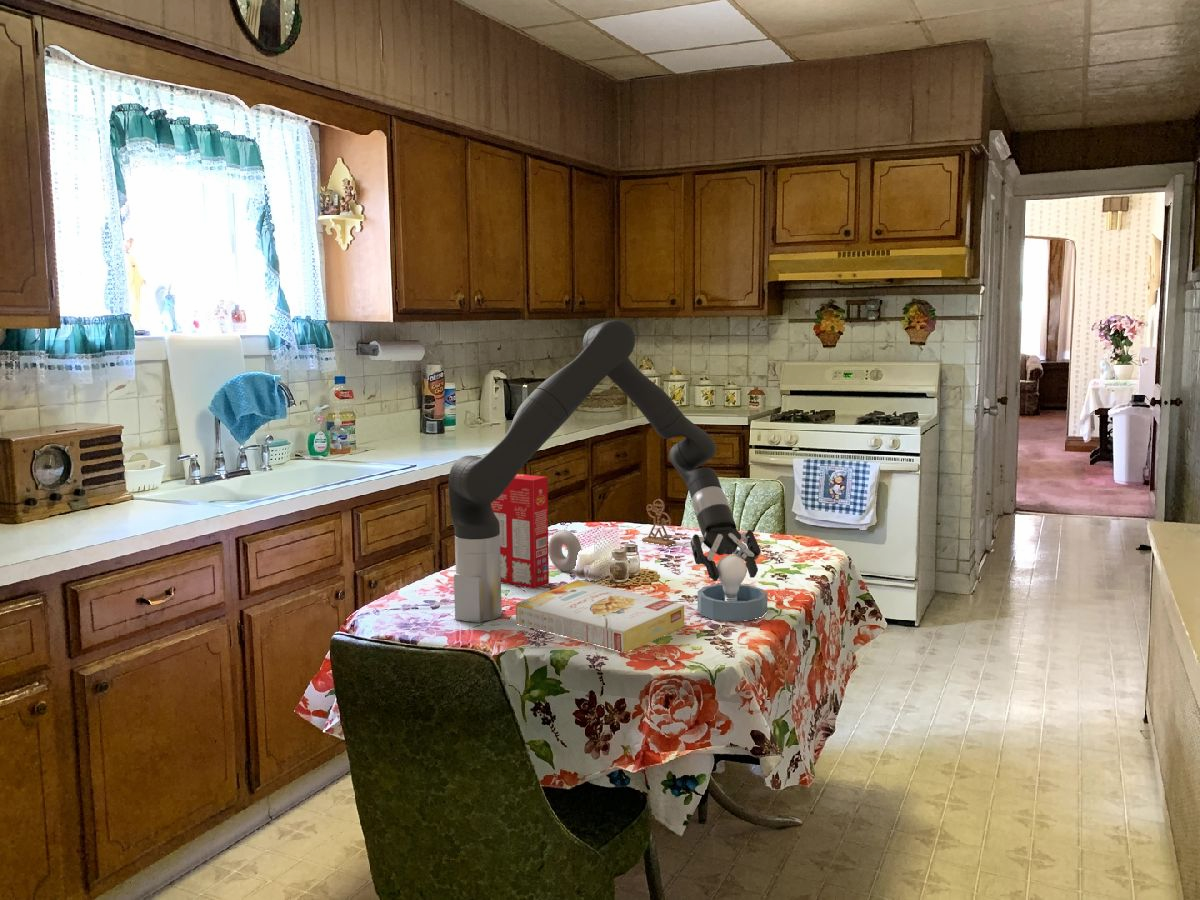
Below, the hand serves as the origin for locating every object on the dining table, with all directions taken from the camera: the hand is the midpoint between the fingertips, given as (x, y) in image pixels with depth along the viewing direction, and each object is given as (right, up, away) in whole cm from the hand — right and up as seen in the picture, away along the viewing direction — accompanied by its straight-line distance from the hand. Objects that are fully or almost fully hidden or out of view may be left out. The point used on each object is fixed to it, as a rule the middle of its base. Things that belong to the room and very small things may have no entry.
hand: (735, 577), depth 209 cm
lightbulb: (-1, -7, +2) cm, 7 cm away
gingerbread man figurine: (-12, +1, +64) cm, 65 cm away
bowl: (0, -7, +2) cm, 8 cm away
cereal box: (-28, -10, -6) cm, 30 cm away
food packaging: (-48, -4, +27) cm, 55 cm away
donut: (-37, -3, +36) cm, 51 cm away
